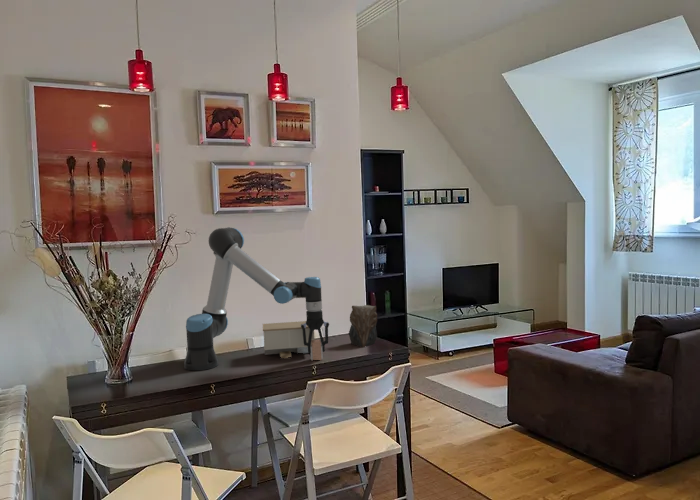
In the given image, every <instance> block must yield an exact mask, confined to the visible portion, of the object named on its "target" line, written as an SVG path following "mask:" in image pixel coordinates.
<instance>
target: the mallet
mask: <svg viewBox="0 0 700 500" xmlns="http://www.w3.org/2000/svg"><path fill="white" fill-rule="evenodd" d="M321 344H322V343H321V340H320V339H314V340H311V345H312V353H313V360H320V361H322V359H321ZM298 353H303V354H309V353H308V347H299V348H297V352H296V354H298ZM313 360H312V361H313Z"/></svg>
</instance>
